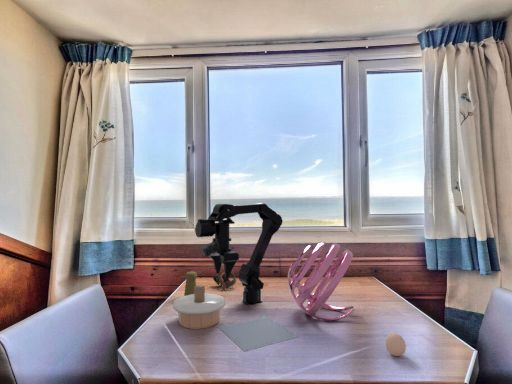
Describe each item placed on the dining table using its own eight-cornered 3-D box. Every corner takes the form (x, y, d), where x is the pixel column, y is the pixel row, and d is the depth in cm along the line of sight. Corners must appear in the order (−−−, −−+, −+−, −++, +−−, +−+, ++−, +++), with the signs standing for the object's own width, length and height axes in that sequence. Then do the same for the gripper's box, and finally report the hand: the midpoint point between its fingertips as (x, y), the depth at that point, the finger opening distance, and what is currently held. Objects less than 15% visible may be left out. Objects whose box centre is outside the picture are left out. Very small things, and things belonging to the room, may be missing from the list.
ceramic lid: (214, 294, 121) (214, 278, 121) (233, 307, 105) (233, 289, 105) (167, 301, 112) (167, 284, 112) (181, 317, 96) (181, 297, 97)
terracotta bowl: (211, 312, 118) (211, 296, 118) (226, 324, 106) (226, 307, 106) (174, 319, 111) (174, 302, 111) (185, 333, 99) (185, 314, 99)
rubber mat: (267, 317, 112) (267, 316, 112) (299, 338, 95) (299, 336, 96) (218, 328, 103) (218, 327, 103) (244, 353, 86) (244, 351, 86)
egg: (410, 358, 83) (409, 336, 83) (393, 361, 82) (393, 338, 82) (397, 349, 88) (397, 328, 88) (381, 351, 87) (381, 330, 87)
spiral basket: (382, 259, 119) (322, 219, 125) (378, 297, 94) (303, 244, 101) (342, 307, 130) (289, 268, 137) (329, 352, 105) (264, 302, 112)
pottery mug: (237, 285, 157) (239, 273, 154) (231, 298, 149) (233, 286, 145) (215, 278, 159) (216, 266, 155) (208, 291, 151) (209, 278, 147)
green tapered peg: (194, 299, 133) (194, 273, 133) (181, 298, 134) (181, 273, 135) (200, 295, 139) (200, 270, 139) (187, 294, 140) (187, 270, 141)
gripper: (194, 234, 126) (194, 273, 126) (211, 239, 110) (211, 283, 110) (220, 233, 132) (220, 270, 131) (239, 237, 115) (239, 279, 115)
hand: (222, 275), depth 122 cm, fingers open, 9 cm apart
